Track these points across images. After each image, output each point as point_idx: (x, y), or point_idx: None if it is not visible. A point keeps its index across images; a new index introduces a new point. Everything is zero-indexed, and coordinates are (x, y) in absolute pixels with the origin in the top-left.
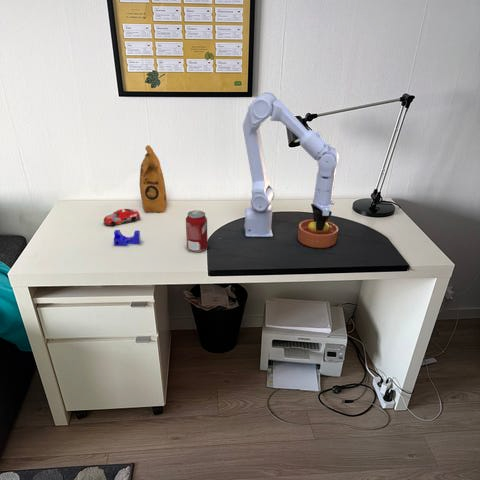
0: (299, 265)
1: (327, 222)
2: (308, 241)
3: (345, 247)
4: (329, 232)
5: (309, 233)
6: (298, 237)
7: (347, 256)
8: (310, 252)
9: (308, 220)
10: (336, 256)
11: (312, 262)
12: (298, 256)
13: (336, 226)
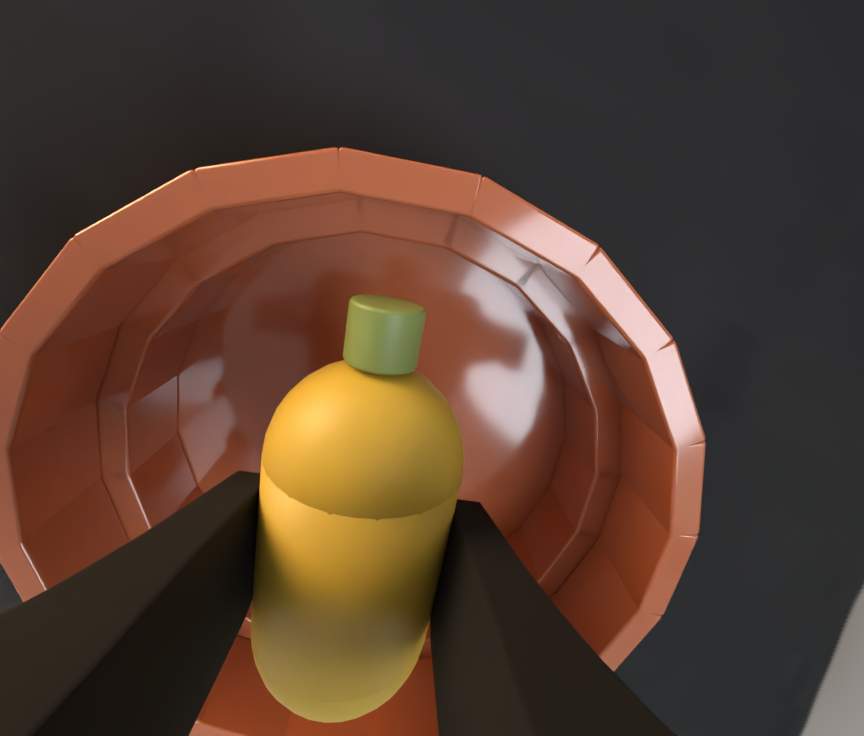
0: (796, 683)
1: (104, 280)
2: None
3: (632, 119)
4: (285, 243)
5: None
6: None
7: (853, 208)
8: None
9: None
10: (796, 341)
11: (798, 590)
12: (658, 658)
13: (363, 165)
